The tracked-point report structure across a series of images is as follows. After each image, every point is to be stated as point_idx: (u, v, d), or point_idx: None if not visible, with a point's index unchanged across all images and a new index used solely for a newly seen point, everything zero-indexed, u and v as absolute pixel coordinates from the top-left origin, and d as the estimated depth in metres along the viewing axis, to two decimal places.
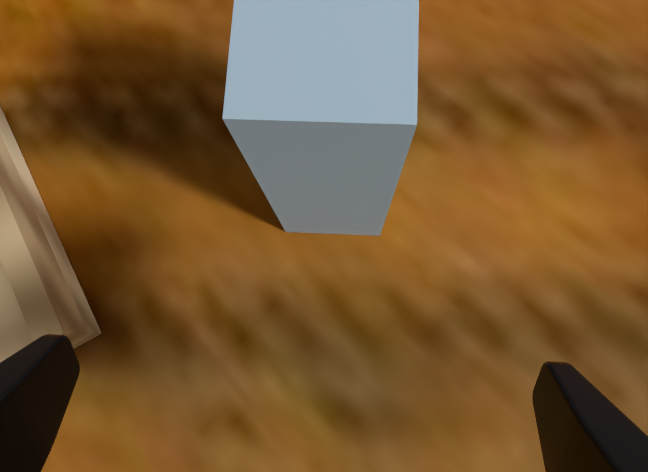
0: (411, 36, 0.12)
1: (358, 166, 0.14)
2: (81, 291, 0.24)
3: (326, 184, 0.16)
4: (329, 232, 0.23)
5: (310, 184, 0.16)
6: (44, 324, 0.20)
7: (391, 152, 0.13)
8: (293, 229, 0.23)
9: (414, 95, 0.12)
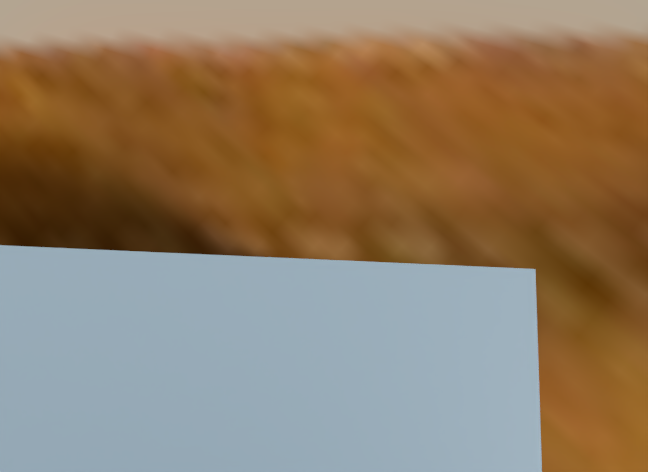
0: None
1: None
2: None
3: None
4: None
5: None
6: None
7: None
8: None
9: None
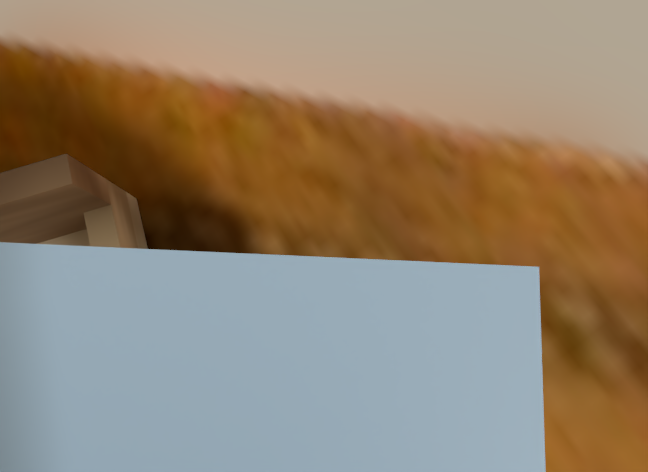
0: None
1: None
2: None
3: None
4: None
5: None
6: None
7: None
8: None
9: None
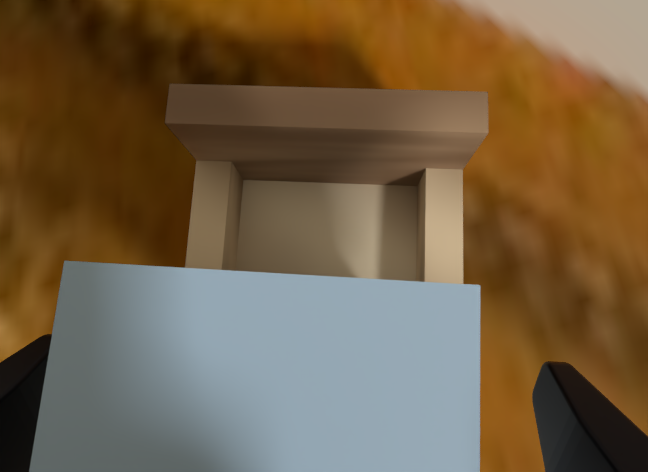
0: None
1: None
2: None
3: None
4: None
5: None
6: None
7: None
8: None
9: None
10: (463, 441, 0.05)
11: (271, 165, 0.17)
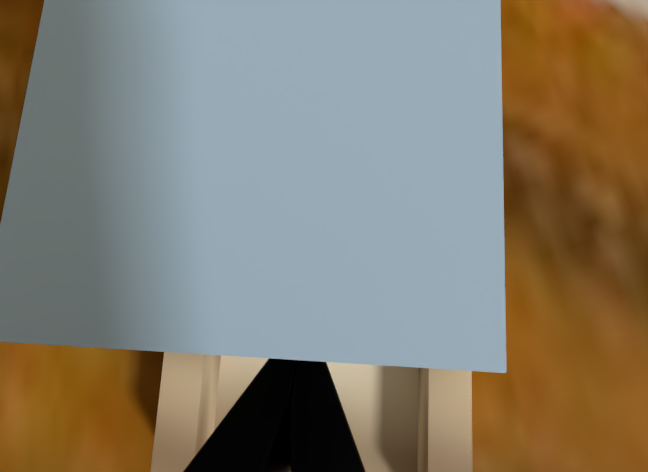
0: (484, 118, 0.05)
1: None
2: None
3: None
4: None
5: None
6: None
7: None
8: None
9: (496, 284, 0.04)
10: (482, 2, 0.05)
11: None
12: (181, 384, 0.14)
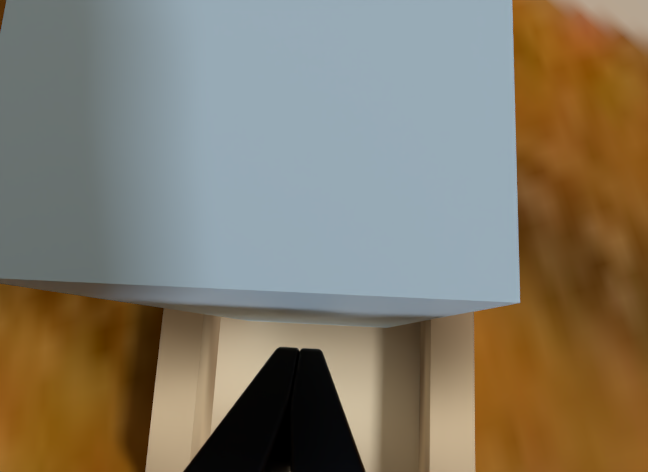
0: (493, 37, 0.04)
1: (350, 311, 0.07)
2: None
3: (291, 314, 0.09)
4: None
5: (262, 313, 0.09)
6: None
7: (427, 311, 0.06)
8: None
9: (508, 210, 0.04)
10: None
11: None
12: (169, 448, 0.14)
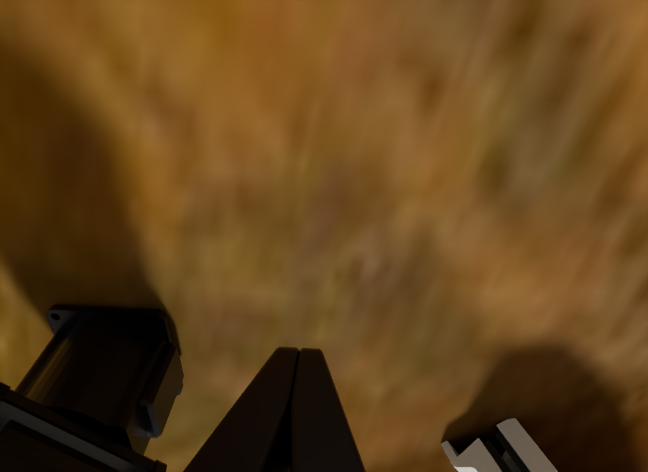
0: None
1: None
2: None
3: None
4: None
5: None
6: None
7: None
8: None
9: None
10: None
11: None
12: None
